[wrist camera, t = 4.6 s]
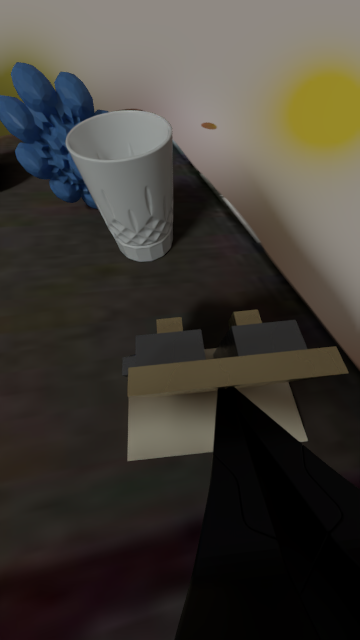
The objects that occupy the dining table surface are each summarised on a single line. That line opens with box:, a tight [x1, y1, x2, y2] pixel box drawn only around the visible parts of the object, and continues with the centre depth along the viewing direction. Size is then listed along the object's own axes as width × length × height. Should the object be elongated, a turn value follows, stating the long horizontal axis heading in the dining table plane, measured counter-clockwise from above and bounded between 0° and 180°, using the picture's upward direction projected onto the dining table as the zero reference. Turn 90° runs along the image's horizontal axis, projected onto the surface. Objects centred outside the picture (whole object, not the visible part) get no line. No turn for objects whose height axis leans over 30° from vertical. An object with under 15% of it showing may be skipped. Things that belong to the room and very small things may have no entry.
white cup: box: [65, 110, 173, 262], centre depth 17 cm, size 8×8×10 cm
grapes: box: [0, 62, 108, 209], centre depth 19 cm, size 12×7×12 cm, turn 120°
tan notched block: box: [128, 310, 349, 397], centre depth 11 cm, size 4×8×8 cm, turn 96°
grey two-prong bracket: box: [122, 320, 307, 377], centre depth 12 cm, size 2×12×6 cm, turn 96°
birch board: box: [128, 348, 308, 461], centre depth 14 cm, size 7×13×1 cm, turn 96°
